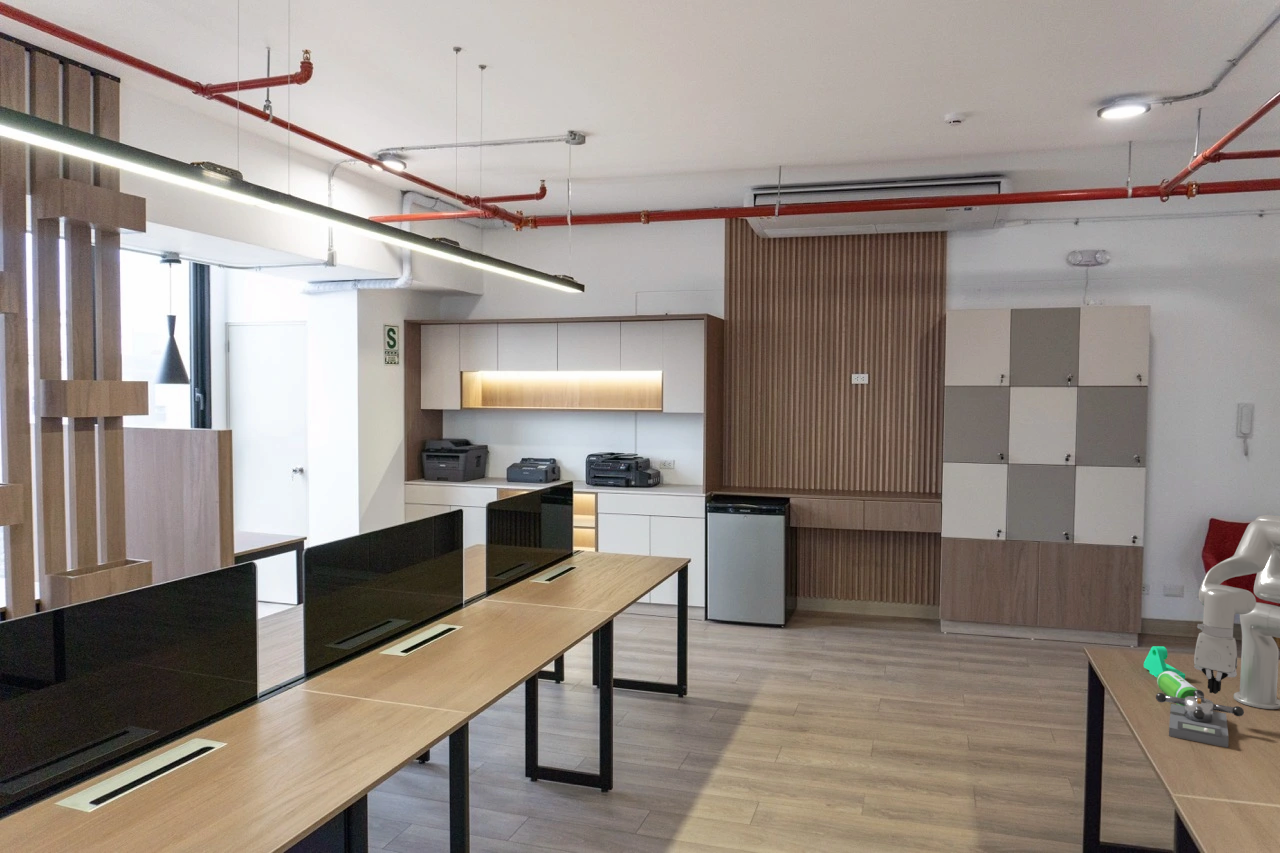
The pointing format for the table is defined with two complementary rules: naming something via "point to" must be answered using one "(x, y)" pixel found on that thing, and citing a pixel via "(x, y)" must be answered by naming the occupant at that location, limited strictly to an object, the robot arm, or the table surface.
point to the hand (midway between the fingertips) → (1213, 692)
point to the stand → (1198, 727)
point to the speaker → (1174, 685)
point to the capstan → (1199, 706)
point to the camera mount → (1159, 662)
